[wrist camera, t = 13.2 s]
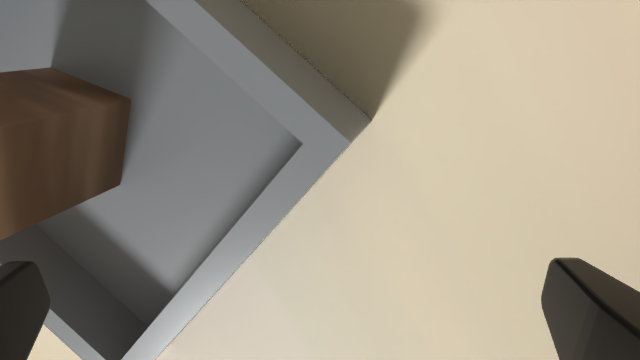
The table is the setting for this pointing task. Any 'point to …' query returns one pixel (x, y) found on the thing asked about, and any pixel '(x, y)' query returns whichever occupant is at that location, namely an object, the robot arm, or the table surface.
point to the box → (172, 159)
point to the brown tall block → (56, 144)
